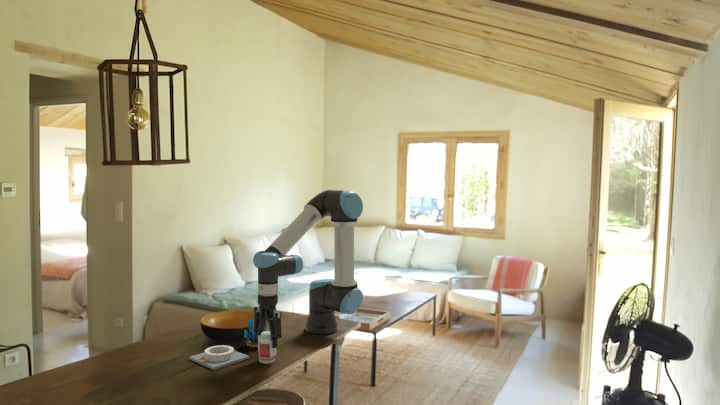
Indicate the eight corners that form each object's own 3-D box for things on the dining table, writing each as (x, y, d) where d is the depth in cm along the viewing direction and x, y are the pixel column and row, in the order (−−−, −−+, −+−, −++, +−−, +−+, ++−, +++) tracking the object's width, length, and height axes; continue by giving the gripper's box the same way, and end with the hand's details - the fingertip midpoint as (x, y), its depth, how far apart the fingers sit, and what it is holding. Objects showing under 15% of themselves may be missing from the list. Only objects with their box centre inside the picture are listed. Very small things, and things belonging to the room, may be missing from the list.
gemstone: (262, 348, 211) (262, 319, 210) (242, 346, 212) (242, 318, 211) (268, 342, 218) (269, 314, 217) (249, 341, 219) (249, 313, 219)
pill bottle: (277, 362, 196) (278, 333, 195) (262, 365, 192) (263, 336, 192) (271, 357, 201) (271, 329, 200) (256, 360, 197) (256, 331, 197)
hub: (224, 348, 209) (224, 340, 209) (249, 358, 199) (249, 349, 198) (189, 359, 197) (189, 350, 196) (213, 370, 186) (213, 360, 186)
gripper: (244, 291, 198) (243, 350, 200) (276, 300, 186) (276, 362, 187) (259, 288, 204) (258, 345, 205) (292, 296, 192) (291, 357, 193)
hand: (267, 353), depth 196 cm, fingers closed on pill bottle, 6 cm apart
